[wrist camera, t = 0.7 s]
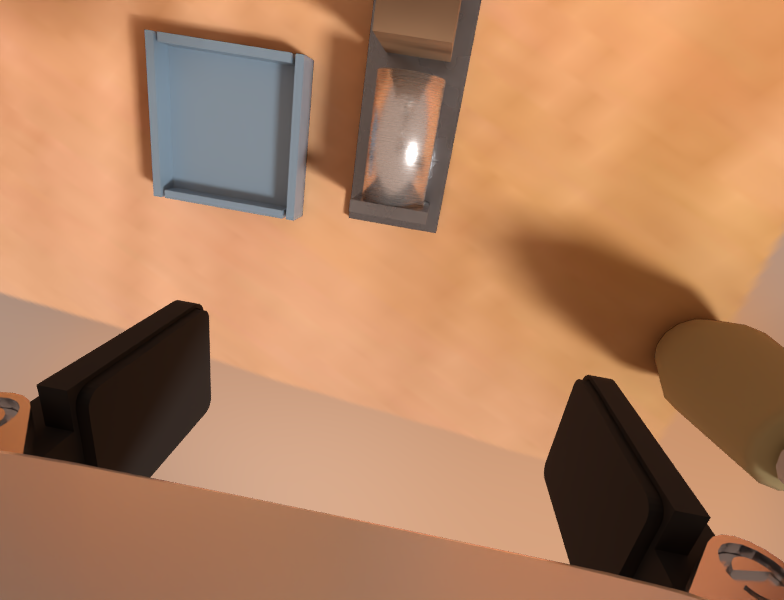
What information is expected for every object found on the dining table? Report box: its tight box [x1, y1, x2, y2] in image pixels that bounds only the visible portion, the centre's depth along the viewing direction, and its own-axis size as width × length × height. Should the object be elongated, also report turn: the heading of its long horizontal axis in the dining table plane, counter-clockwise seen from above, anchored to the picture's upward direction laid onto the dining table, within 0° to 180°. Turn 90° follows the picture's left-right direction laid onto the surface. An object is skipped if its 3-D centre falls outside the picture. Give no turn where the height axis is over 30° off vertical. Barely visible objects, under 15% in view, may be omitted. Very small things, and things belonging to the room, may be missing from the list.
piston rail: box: [349, 0, 481, 233], centre depth 30 cm, size 18×7×1 cm, turn 171°
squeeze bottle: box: [654, 319, 784, 491], centre depth 26 cm, size 8×8×18 cm
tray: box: [144, 29, 314, 221], centre depth 31 cm, size 11×11×2 cm
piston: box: [349, 68, 446, 225], centre depth 28 cm, size 9×5×5 cm, turn 171°
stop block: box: [373, 0, 462, 62], centre depth 25 cm, size 4×4×6 cm
